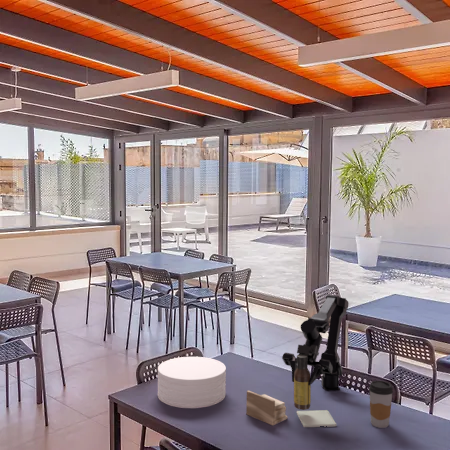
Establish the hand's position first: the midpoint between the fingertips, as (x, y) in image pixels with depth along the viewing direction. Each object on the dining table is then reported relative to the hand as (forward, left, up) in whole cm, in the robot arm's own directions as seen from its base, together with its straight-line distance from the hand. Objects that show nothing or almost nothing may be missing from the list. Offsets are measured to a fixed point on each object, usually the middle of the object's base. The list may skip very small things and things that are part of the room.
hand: (301, 383), depth 196 cm
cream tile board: (-6, +2, -13) cm, 15 cm away
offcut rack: (+12, -2, -13) cm, 18 cm away
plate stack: (+40, -25, -14) cm, 49 cm away
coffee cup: (-28, +7, -13) cm, 32 cm away
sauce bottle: (-1, -1, -10) cm, 10 cm away
